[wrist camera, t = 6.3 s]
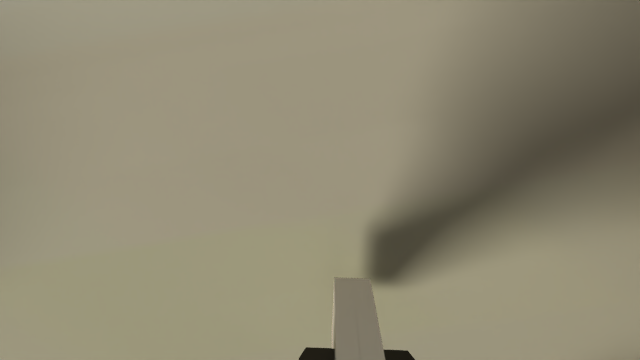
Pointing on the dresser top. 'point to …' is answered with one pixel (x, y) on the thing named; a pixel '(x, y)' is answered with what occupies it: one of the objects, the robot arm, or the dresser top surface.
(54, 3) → the dresser top surface
